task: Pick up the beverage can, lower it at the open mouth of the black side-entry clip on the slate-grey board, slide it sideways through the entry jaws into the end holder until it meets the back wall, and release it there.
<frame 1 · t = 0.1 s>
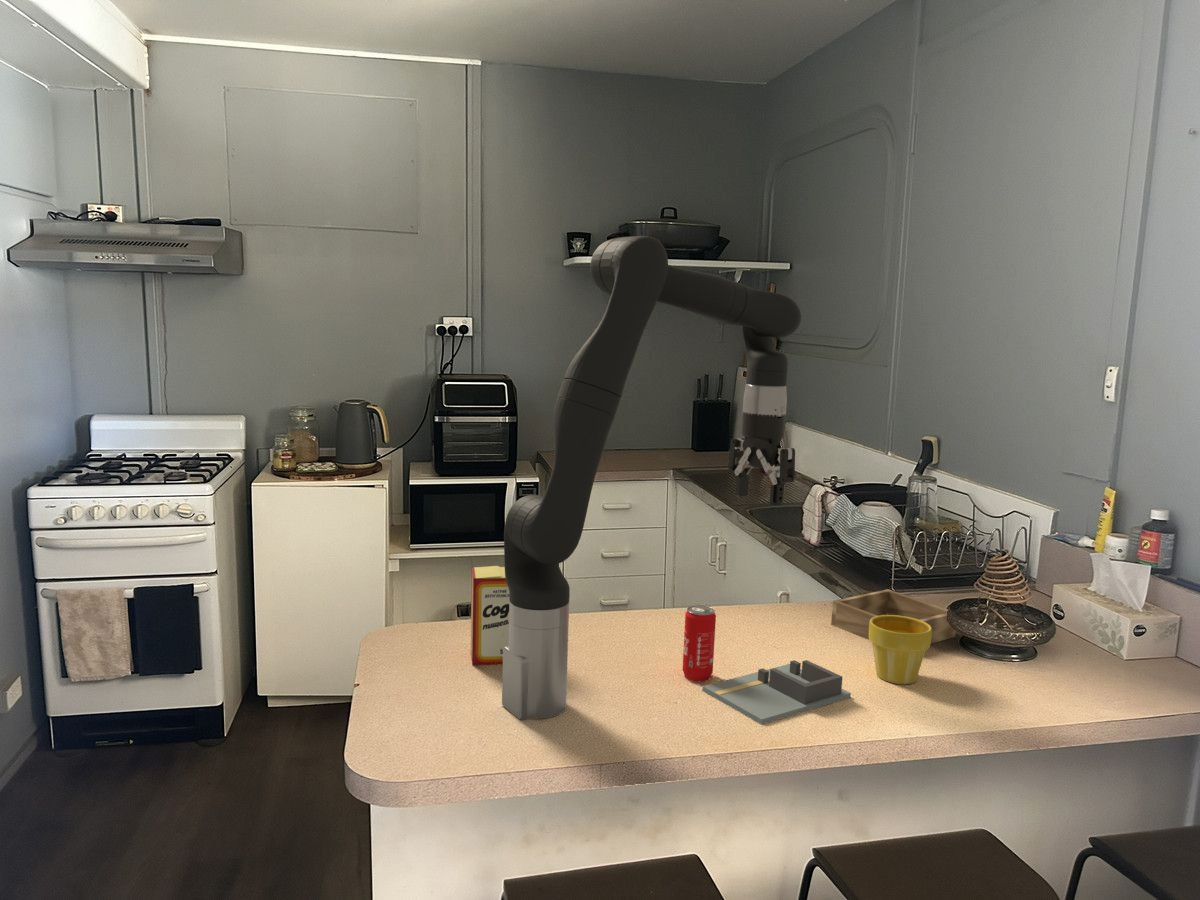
hand: (758, 500, 161), 29 cm above the countertop, fingers open, 8 cm apart
wooden tray: (892, 630, 181), on the countertop
plant pot: (895, 678, 158), on the countertop
baking soda box: (498, 658, 160), on the countertop
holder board: (776, 694, 149), on the countertop
beverage can: (697, 677, 155), on the countertop
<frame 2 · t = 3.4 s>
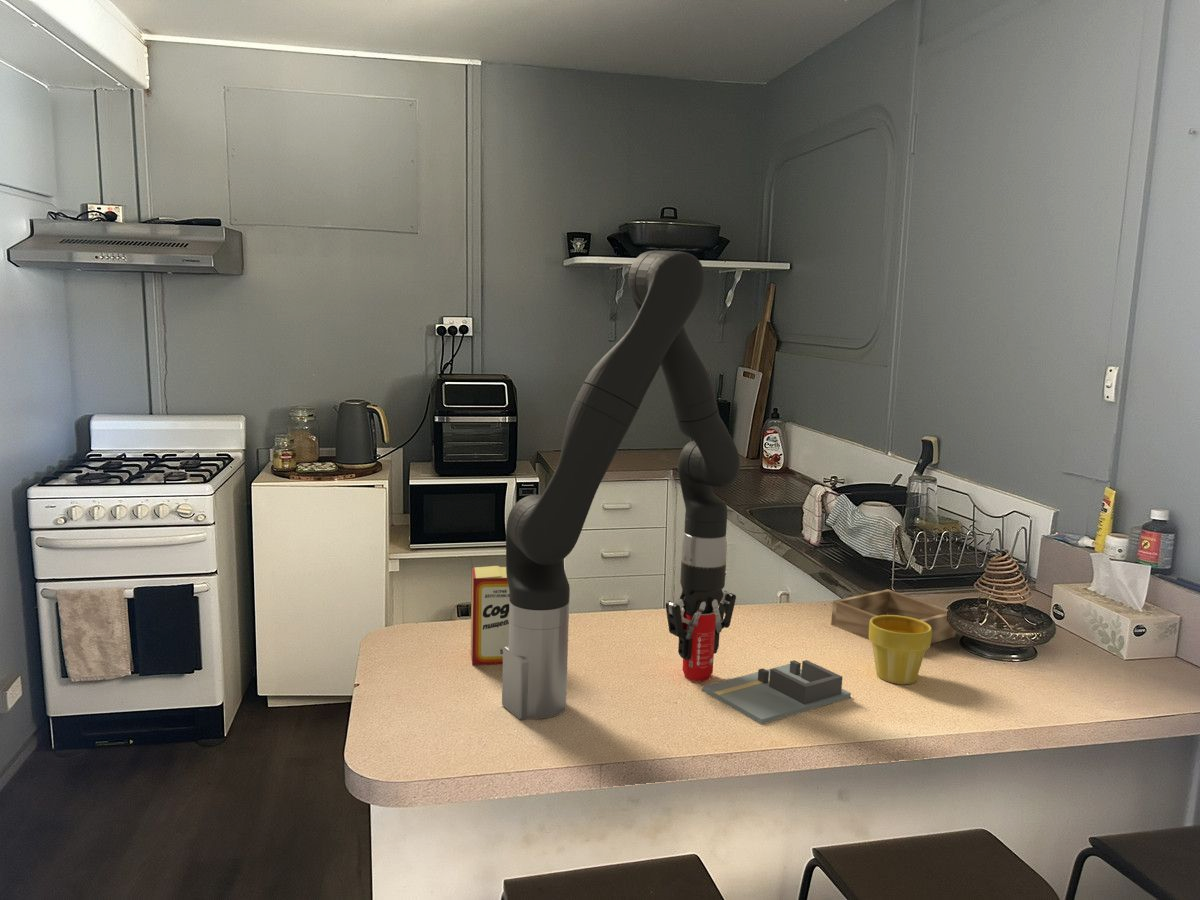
hand: (698, 654, 154), 4 cm above the countertop, fingers closed on beverage can, 5 cm apart
beverage can: (697, 677, 155), on the countertop, touching gripper
everything else where it was.
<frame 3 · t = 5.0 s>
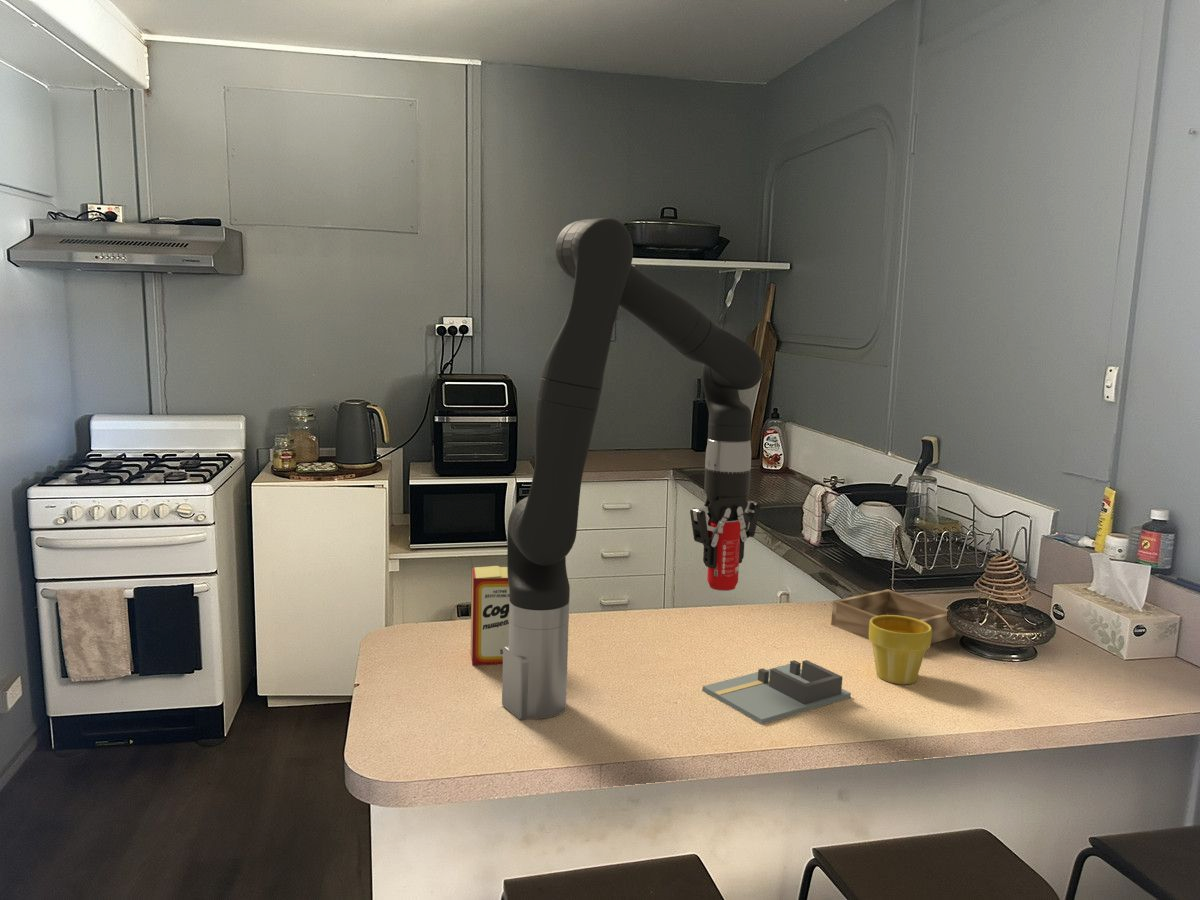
hand: (723, 564, 152), 20 cm above the countertop, fingers closed on beverage can, 5 cm apart
beverage can: (722, 587, 153), point 16 cm above the countertop, touching gripper
everything else where it was.
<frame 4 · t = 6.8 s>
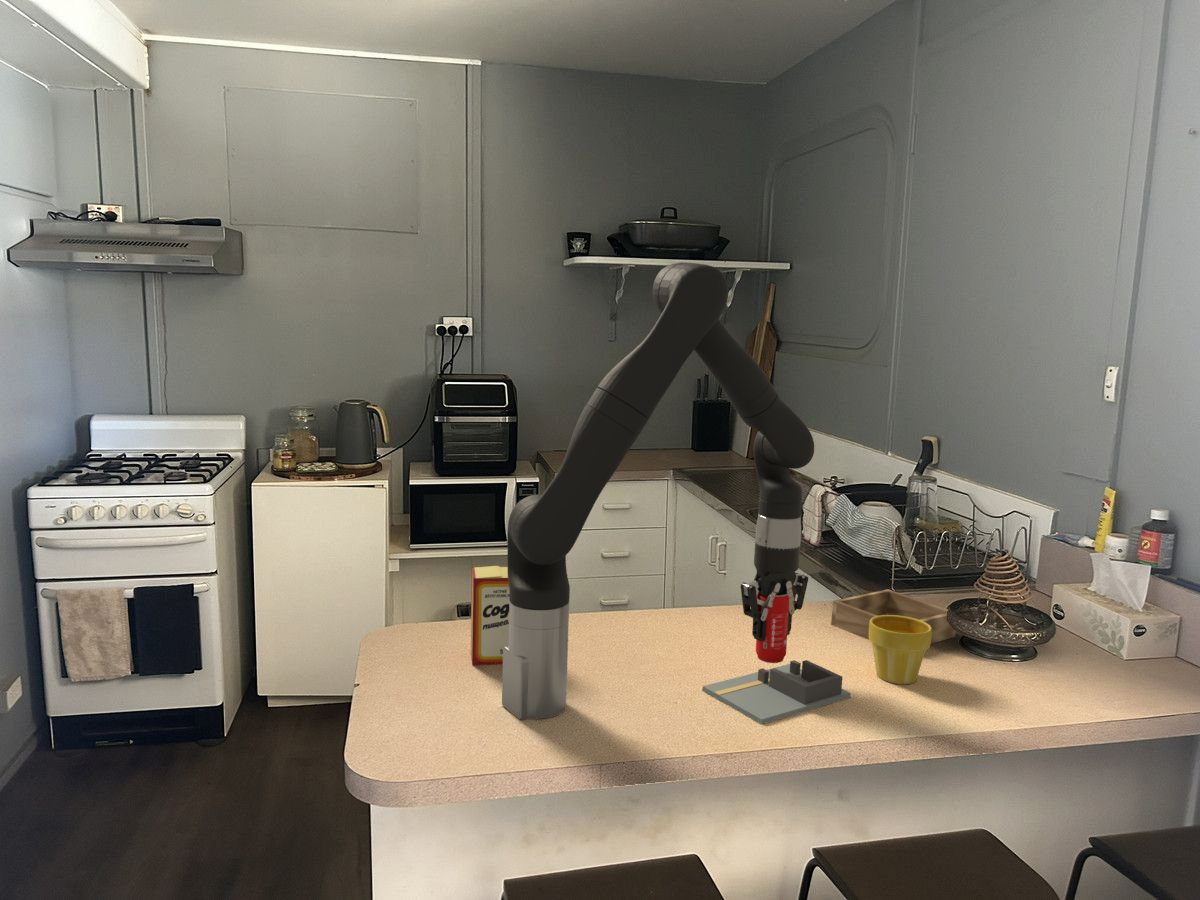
hand: (771, 636, 155), 7 cm above the countertop, fingers closed on beverage can, 5 cm apart
beverage can: (770, 659, 155), point 3 cm above the countertop, touching gripper
everything else where it was.
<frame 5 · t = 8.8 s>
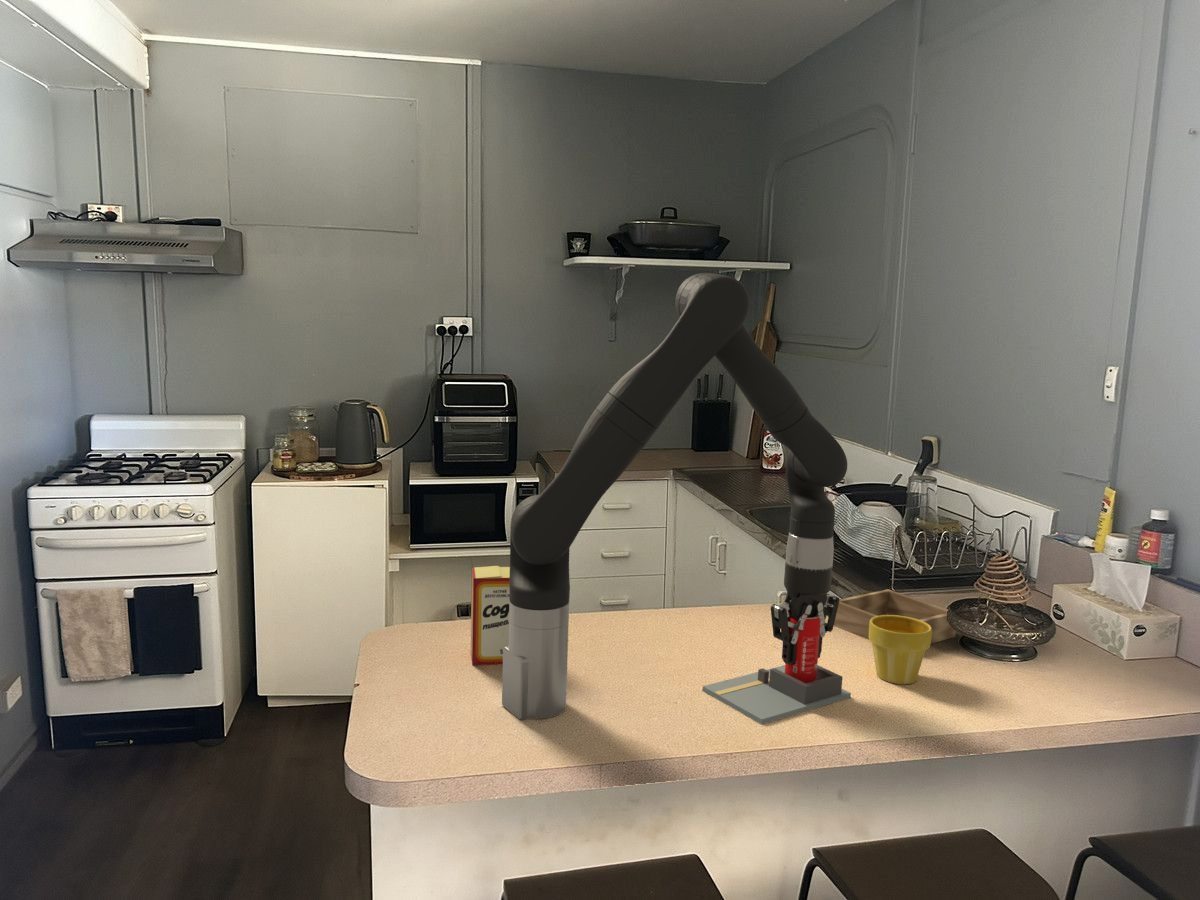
hand: (801, 659, 149), 6 cm above the countertop, fingers closed on beverage can, 5 cm apart
beverage can: (799, 683, 150), point 2 cm above the countertop, touching gripper
everything else where it was.
when the fingers open (6 cm above the countertop, at t = 10.3 s): beverage can stays where it is, resting on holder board.
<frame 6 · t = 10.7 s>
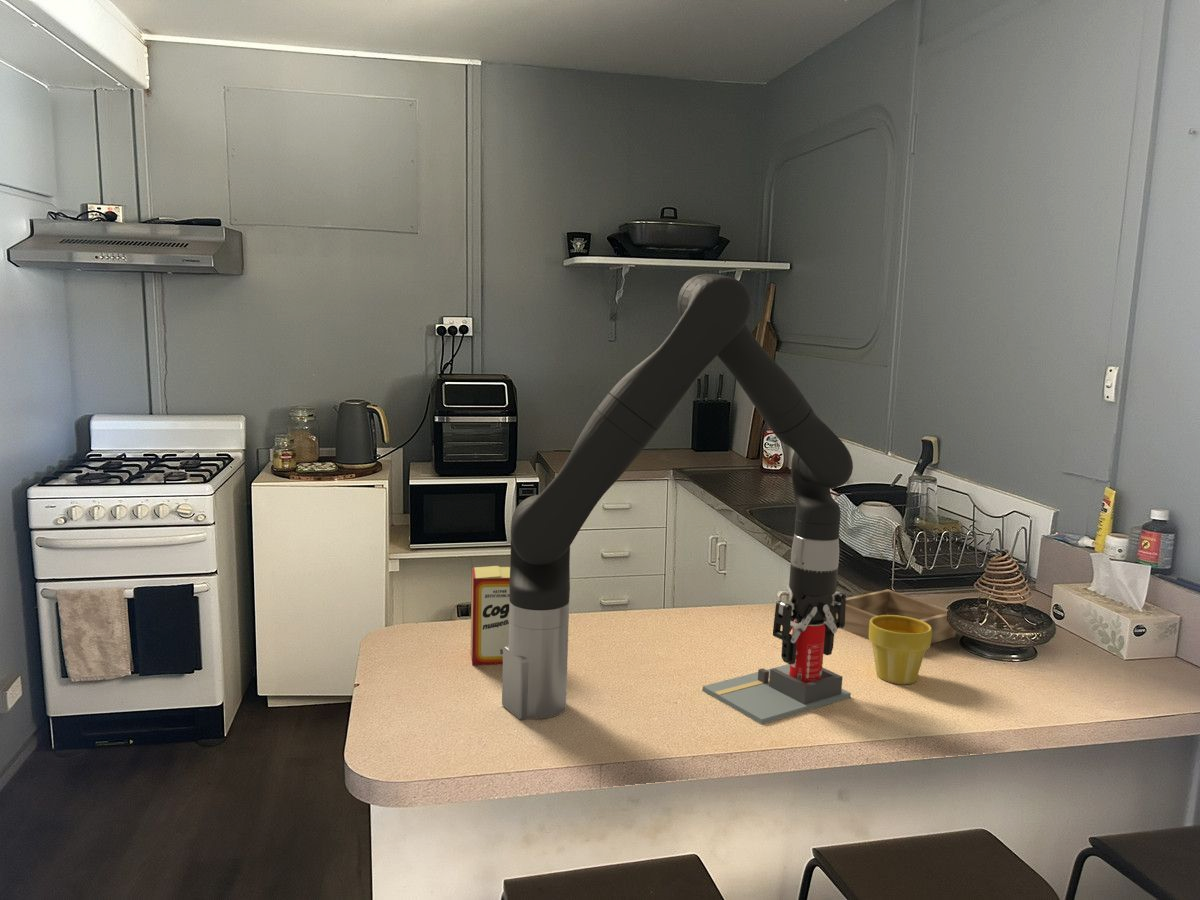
hand: (807, 658, 148), 6 cm above the countertop, fingers open, 8 cm apart
beverage can: (804, 690, 149), point 1 cm above the countertop, touching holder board
everything else where it was.
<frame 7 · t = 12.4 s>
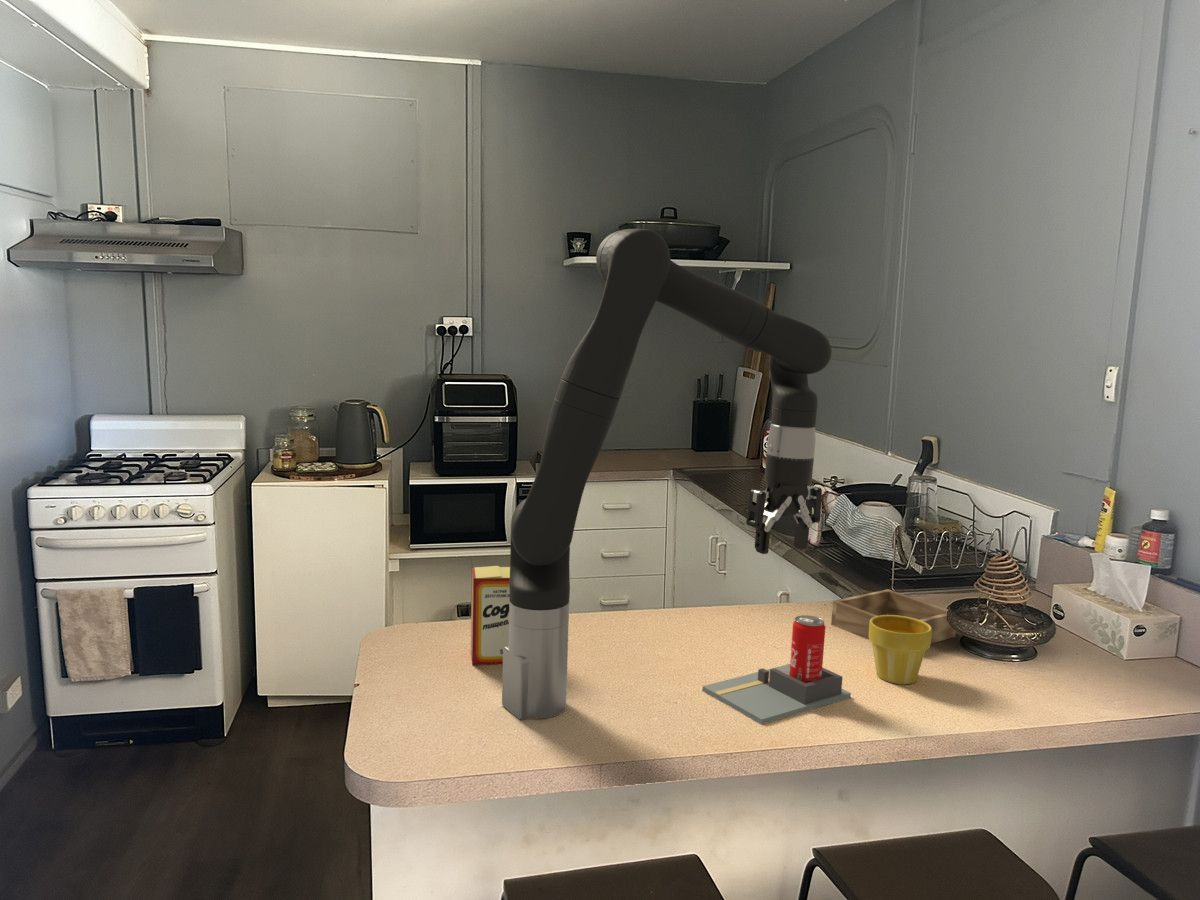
hand: (781, 550, 147), 24 cm above the countertop, fingers open, 8 cm apart
nothing on the countertop moved.
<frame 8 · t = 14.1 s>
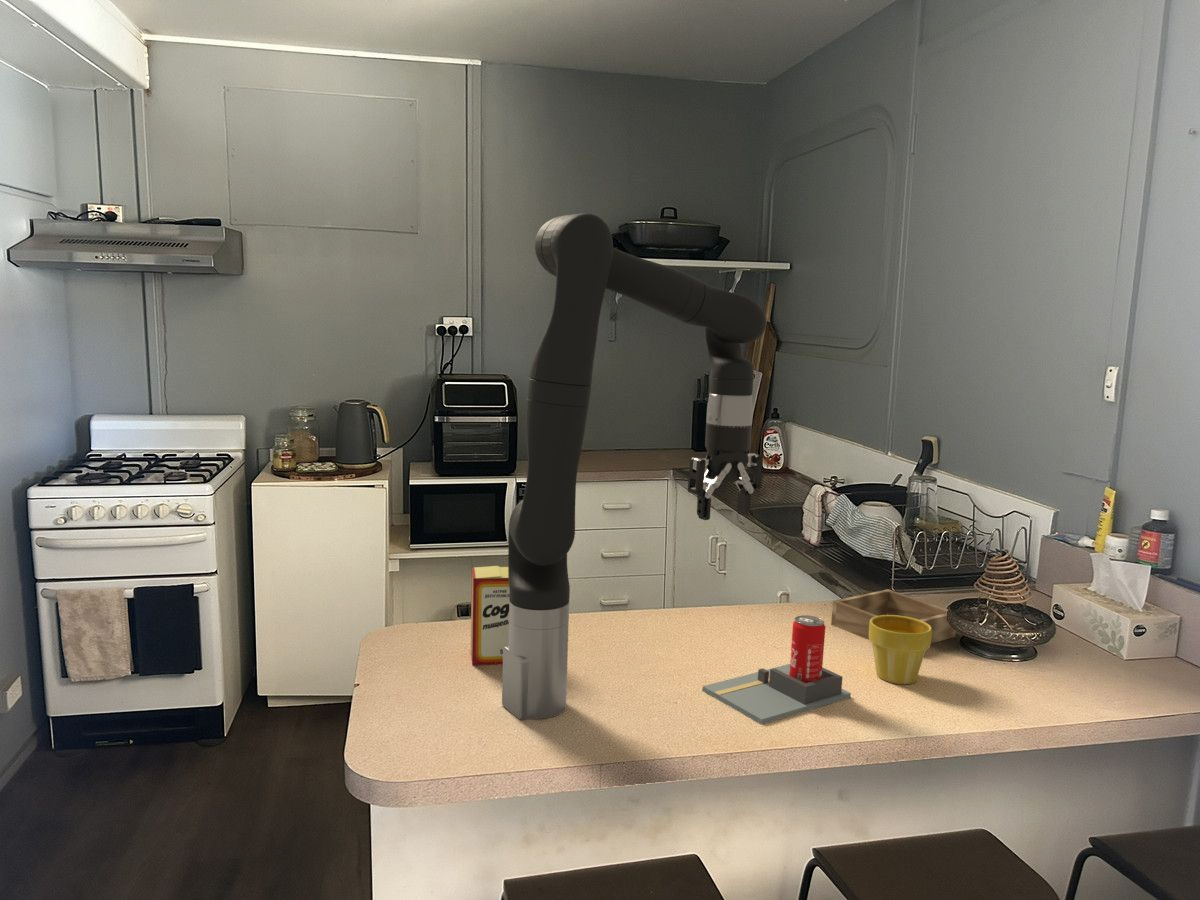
hand: (723, 516, 151), 28 cm above the countertop, fingers open, 8 cm apart
nothing on the countertop moved.
at the end: beverage can 0.1 cm from the target spot on the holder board, point 0.7 cm above the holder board's base; beverage can tilted 0°; the gripper is holding nothing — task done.
